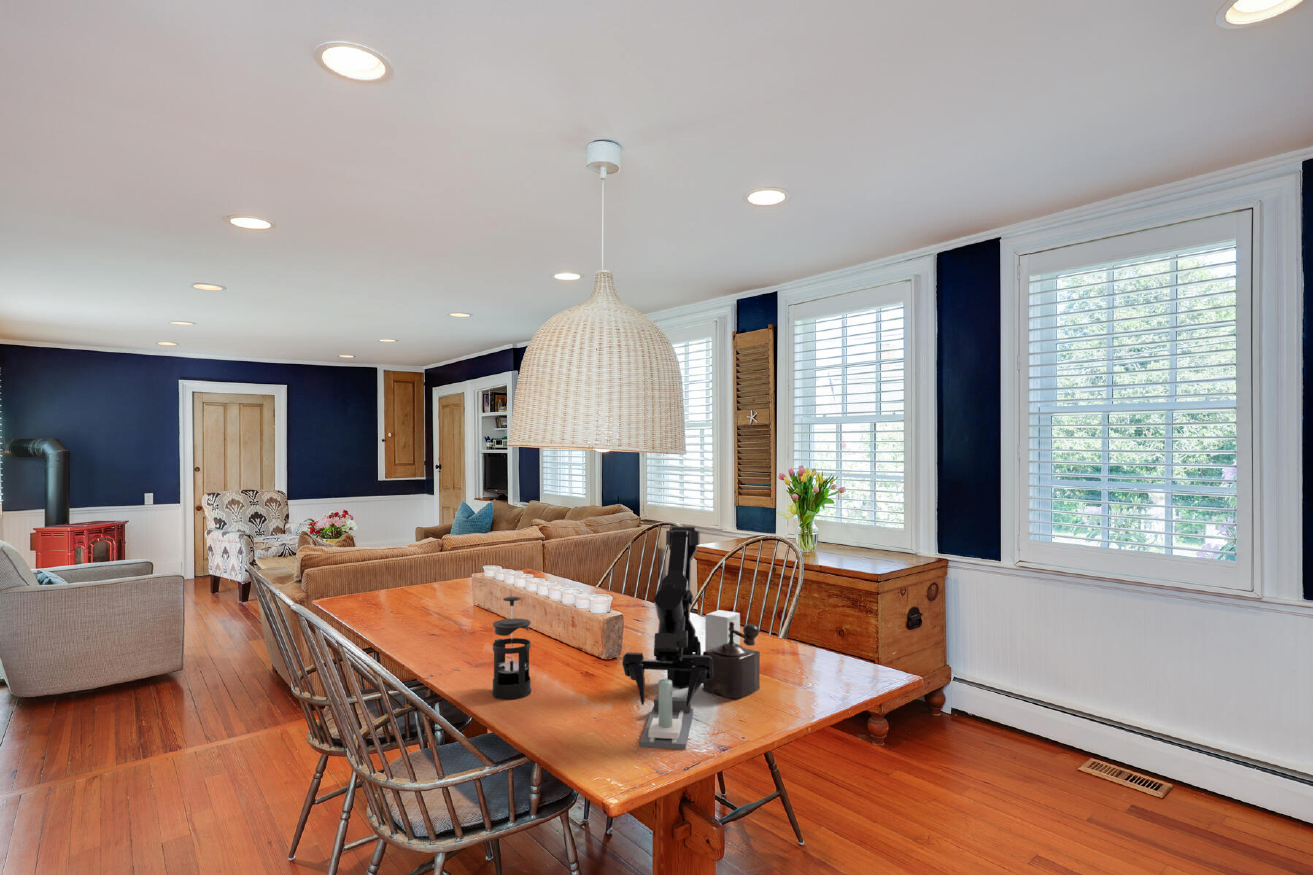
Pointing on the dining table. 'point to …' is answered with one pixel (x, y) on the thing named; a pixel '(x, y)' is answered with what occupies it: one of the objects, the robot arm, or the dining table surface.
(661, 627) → the robot arm
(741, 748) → the dining table surface
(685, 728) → the rail track
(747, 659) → the manual coffee grinder
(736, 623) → the supplement box
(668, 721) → the carriage
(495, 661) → the french press
